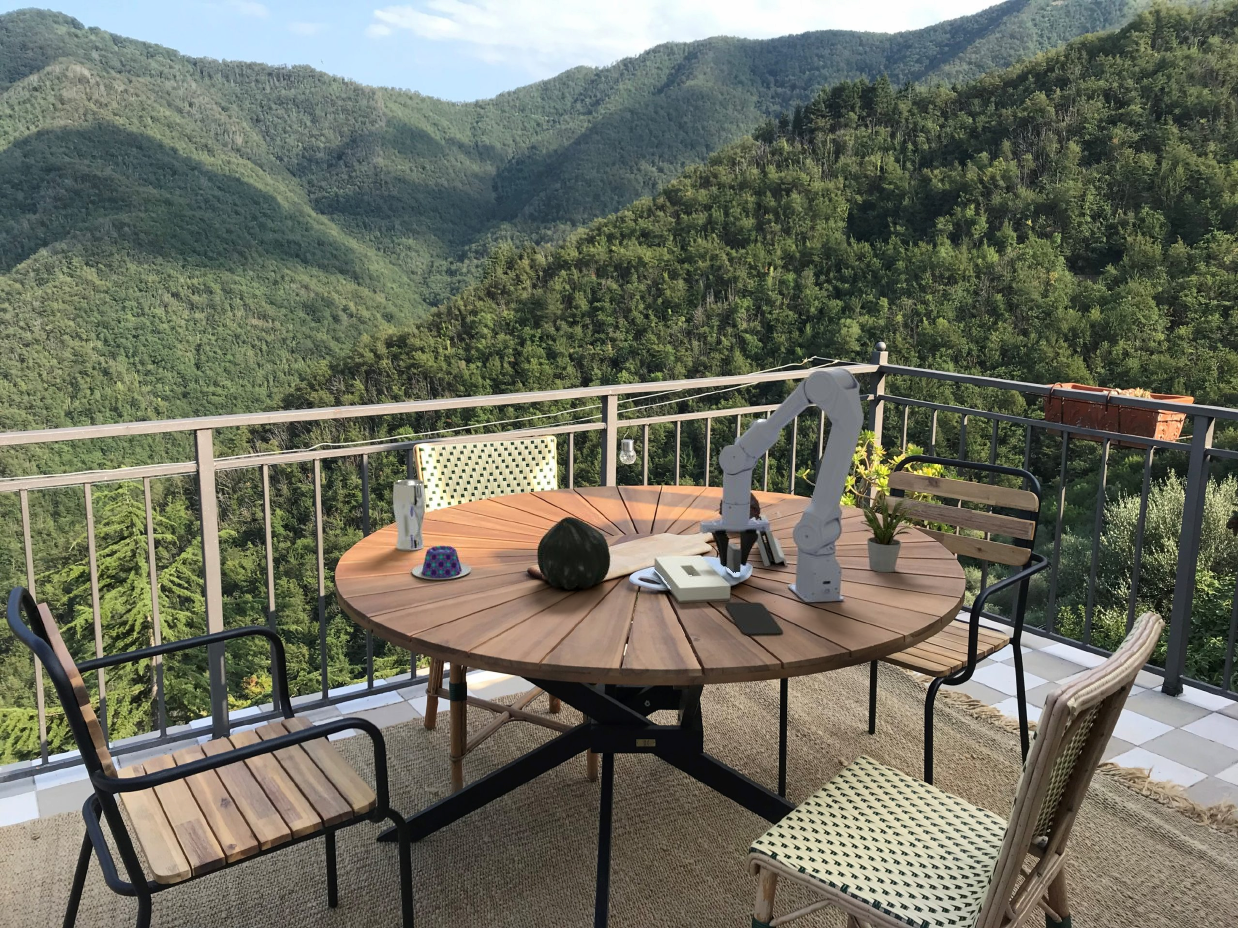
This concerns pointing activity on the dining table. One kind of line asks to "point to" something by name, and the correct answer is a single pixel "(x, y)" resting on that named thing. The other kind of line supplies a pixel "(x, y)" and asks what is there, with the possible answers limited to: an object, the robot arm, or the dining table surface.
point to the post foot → (692, 579)
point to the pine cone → (753, 507)
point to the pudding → (441, 564)
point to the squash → (573, 555)
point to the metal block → (733, 557)
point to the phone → (753, 619)
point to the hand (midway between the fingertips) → (733, 564)
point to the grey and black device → (769, 546)
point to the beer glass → (409, 513)
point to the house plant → (884, 536)
